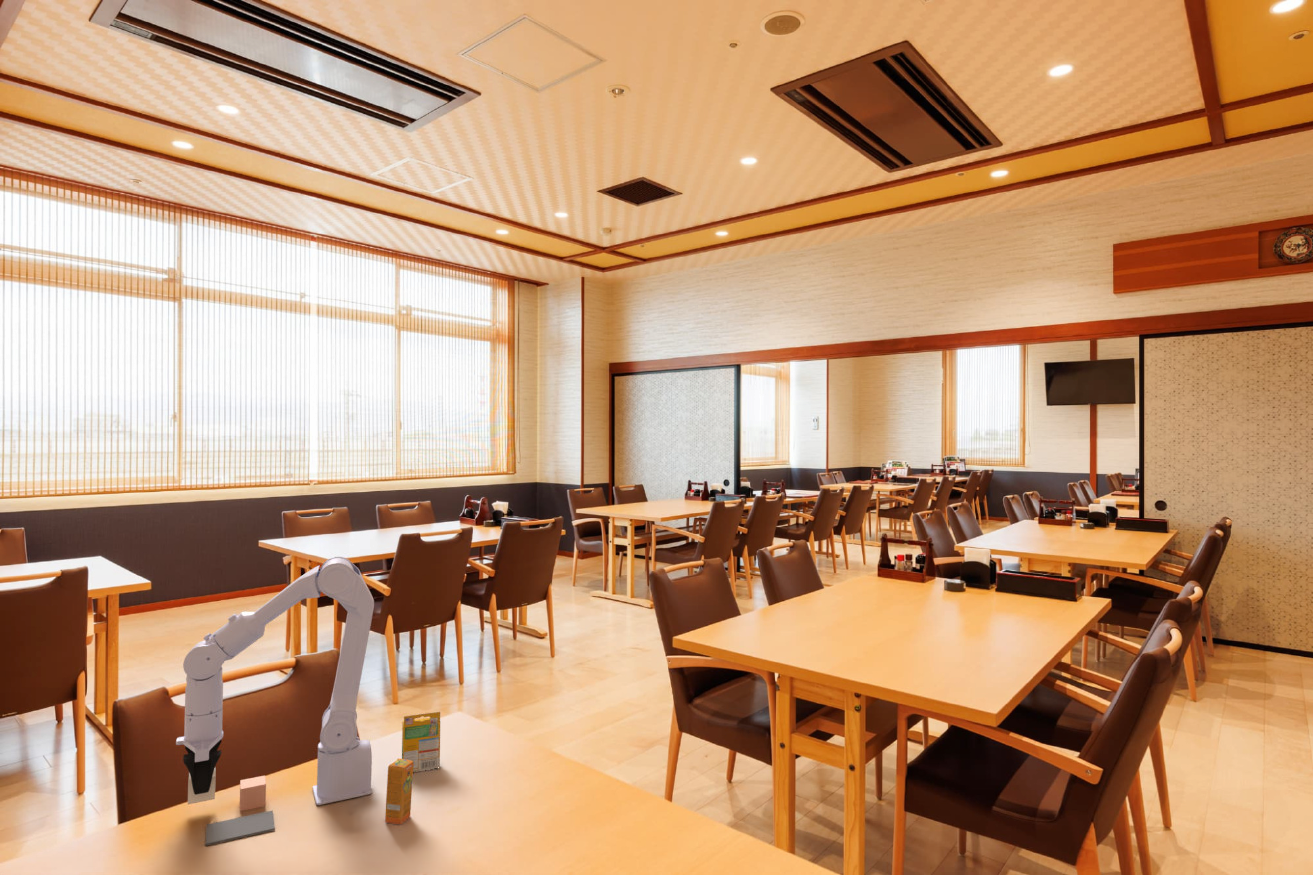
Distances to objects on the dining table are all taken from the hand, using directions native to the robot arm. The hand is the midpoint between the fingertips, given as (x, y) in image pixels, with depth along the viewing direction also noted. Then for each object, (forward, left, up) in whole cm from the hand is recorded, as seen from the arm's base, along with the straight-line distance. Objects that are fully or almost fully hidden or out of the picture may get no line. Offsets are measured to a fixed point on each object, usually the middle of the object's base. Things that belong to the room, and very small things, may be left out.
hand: (202, 787), depth 127 cm
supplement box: (-30, +19, -5) cm, 36 cm away
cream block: (0, 0, -2) cm, 2 cm away
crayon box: (-38, 0, -5) cm, 38 cm away
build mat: (-6, +9, -5) cm, 12 cm away
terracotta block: (-8, 0, -5) cm, 9 cm away
